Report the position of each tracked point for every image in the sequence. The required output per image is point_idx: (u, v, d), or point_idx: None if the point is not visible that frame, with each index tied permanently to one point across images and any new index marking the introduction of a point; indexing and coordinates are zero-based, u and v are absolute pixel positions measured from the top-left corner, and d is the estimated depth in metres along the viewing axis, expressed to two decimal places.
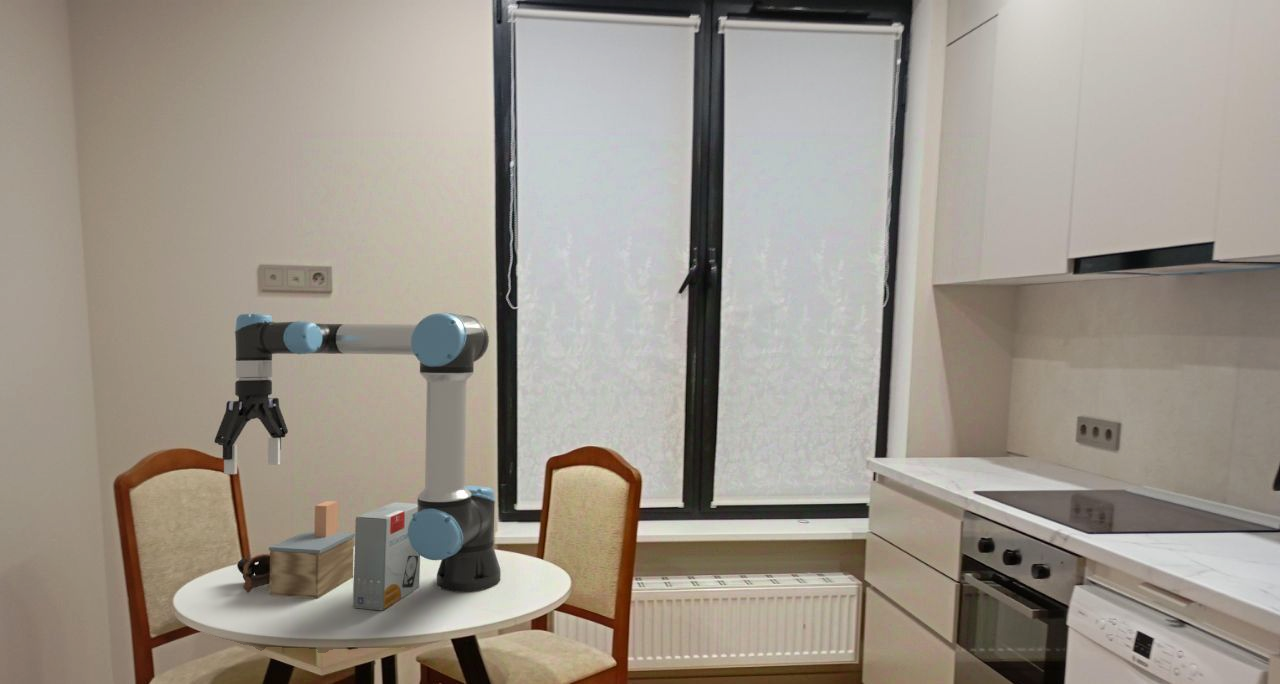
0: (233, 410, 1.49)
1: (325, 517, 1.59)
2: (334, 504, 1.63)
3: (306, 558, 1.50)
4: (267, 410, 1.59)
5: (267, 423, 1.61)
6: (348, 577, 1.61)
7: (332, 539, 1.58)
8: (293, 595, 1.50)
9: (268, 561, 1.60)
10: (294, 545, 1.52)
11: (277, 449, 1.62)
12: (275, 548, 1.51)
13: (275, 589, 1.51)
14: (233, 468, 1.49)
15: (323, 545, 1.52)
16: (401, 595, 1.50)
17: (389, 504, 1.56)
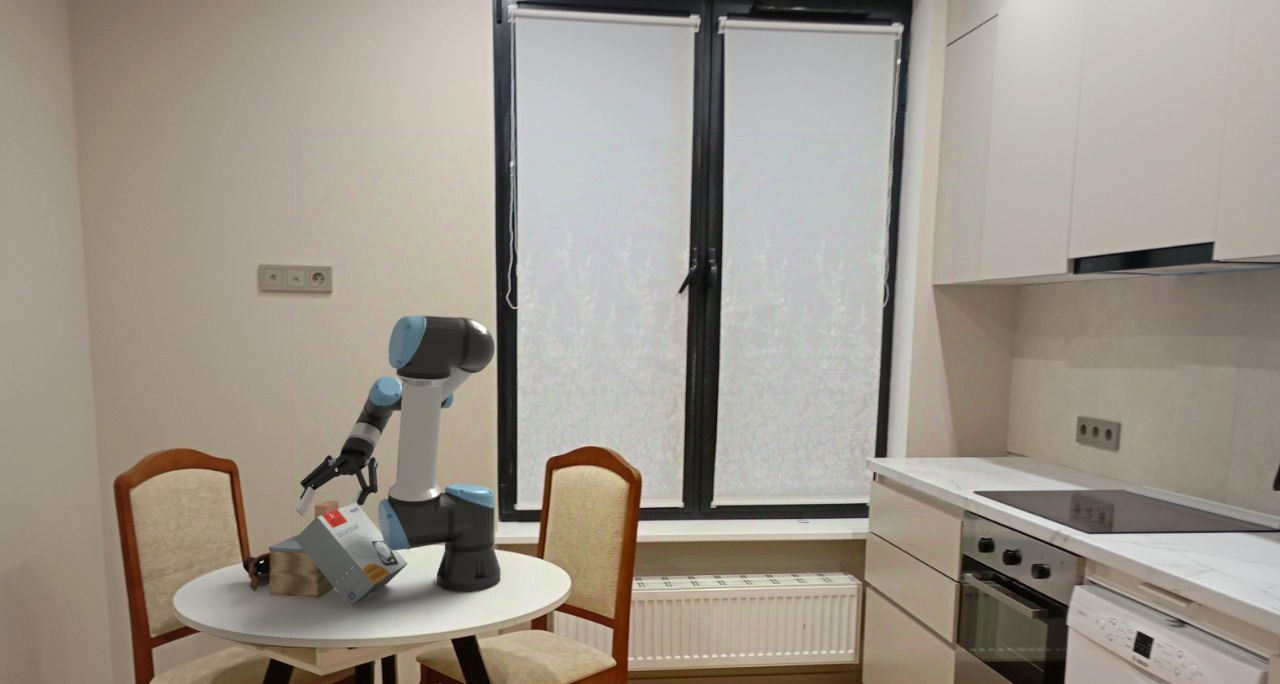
0: None
1: None
2: (334, 504, 1.63)
3: (306, 558, 1.50)
4: (354, 464, 1.71)
5: (358, 478, 1.69)
6: None
7: None
8: (293, 595, 1.50)
9: None
10: (294, 545, 1.52)
11: (353, 499, 1.63)
12: (274, 548, 1.51)
13: (275, 589, 1.51)
14: None
15: None
16: (389, 572, 1.50)
17: None
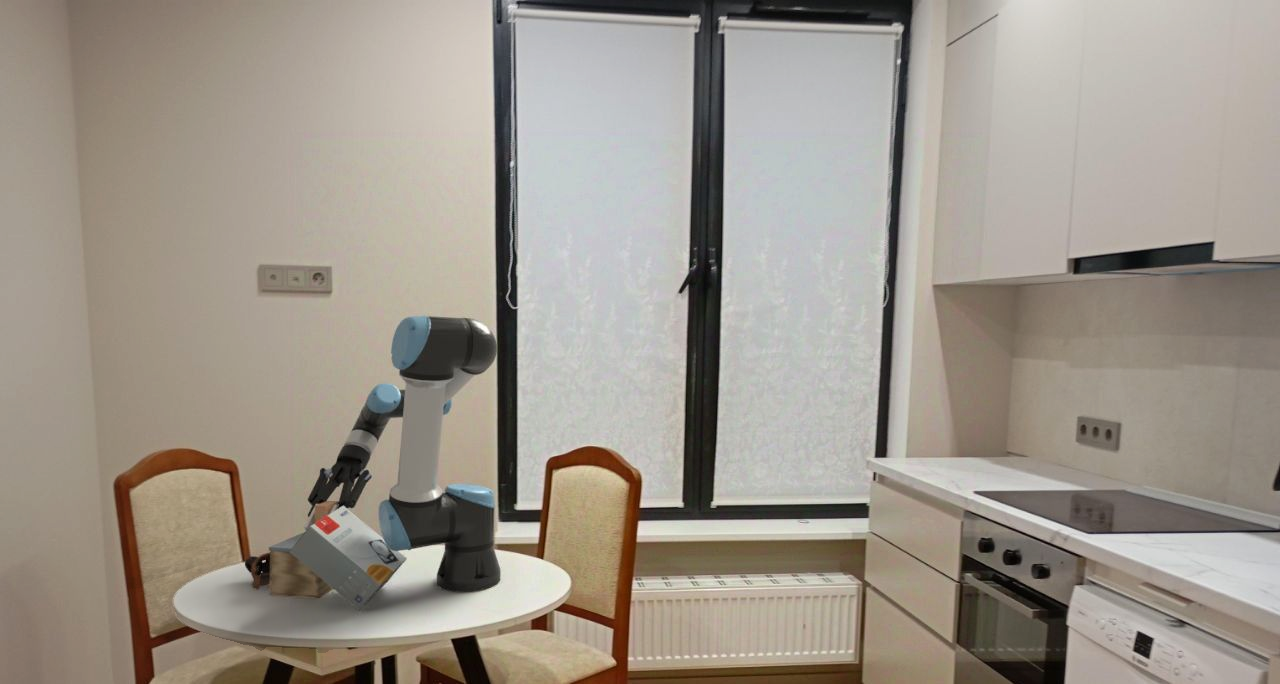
0: None
1: None
2: (334, 504, 1.63)
3: None
4: (347, 473, 1.68)
5: None
6: None
7: None
8: (293, 595, 1.50)
9: None
10: None
11: None
12: (274, 548, 1.51)
13: (275, 589, 1.51)
14: None
15: None
16: (392, 569, 1.49)
17: None
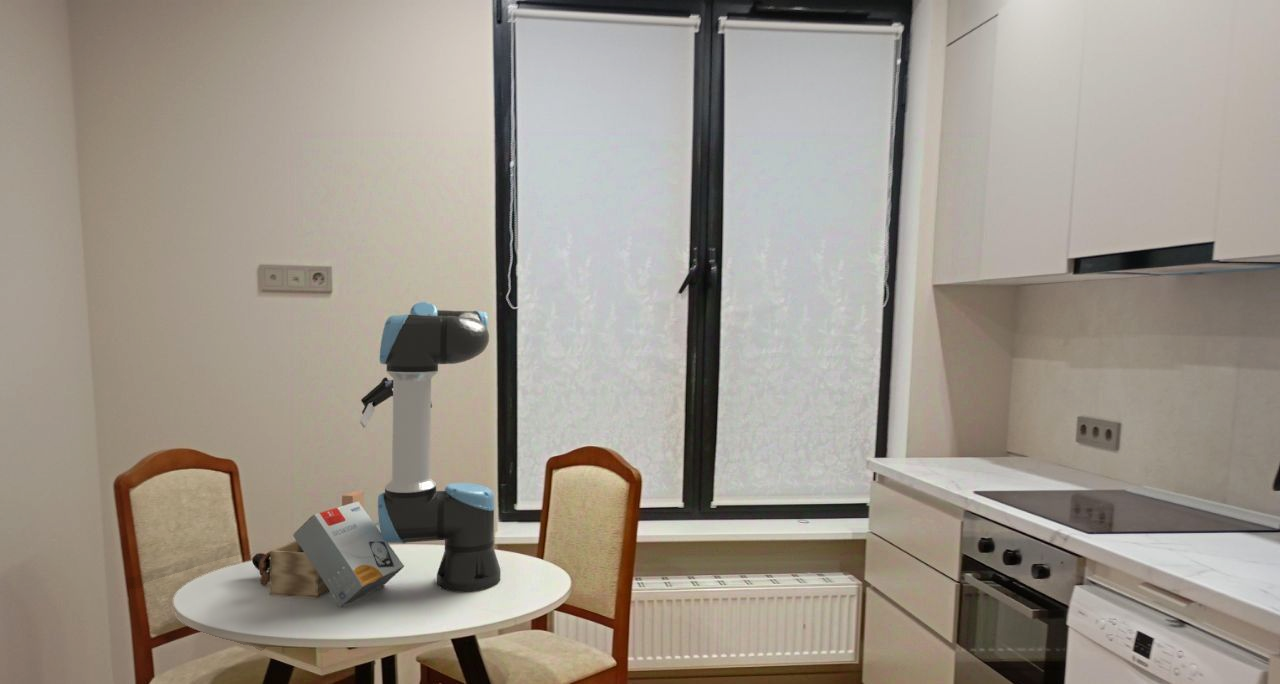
0: None
1: None
2: (359, 494, 1.74)
3: (306, 558, 1.50)
4: None
5: None
6: None
7: None
8: (293, 595, 1.50)
9: None
10: None
11: None
12: None
13: (275, 589, 1.51)
14: None
15: None
16: (383, 573, 1.50)
17: None
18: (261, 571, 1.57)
